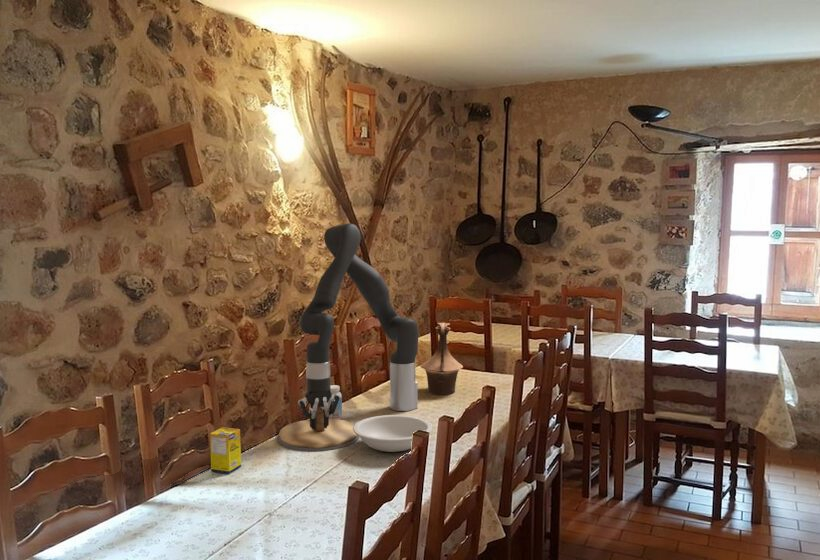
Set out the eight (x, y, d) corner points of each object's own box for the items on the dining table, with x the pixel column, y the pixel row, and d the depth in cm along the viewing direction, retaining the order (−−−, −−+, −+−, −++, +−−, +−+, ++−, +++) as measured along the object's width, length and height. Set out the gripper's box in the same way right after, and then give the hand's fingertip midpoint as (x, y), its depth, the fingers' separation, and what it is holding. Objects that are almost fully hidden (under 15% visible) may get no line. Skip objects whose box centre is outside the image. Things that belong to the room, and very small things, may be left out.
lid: (341, 417, 227) (341, 397, 226) (371, 439, 205) (371, 417, 204) (270, 429, 215) (269, 407, 215) (293, 453, 193) (292, 429, 193)
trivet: (341, 419, 228) (341, 418, 228) (372, 442, 205) (372, 440, 205) (267, 431, 216) (267, 429, 216) (291, 456, 193) (291, 454, 193)
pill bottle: (343, 415, 232) (343, 384, 231) (340, 421, 226) (339, 389, 225) (326, 415, 233) (326, 384, 232) (322, 420, 227) (322, 388, 226)
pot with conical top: (464, 397, 255) (464, 326, 253) (420, 397, 256) (420, 326, 253) (461, 386, 273) (462, 319, 270) (420, 385, 273) (420, 319, 270)
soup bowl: (444, 441, 206) (444, 420, 205) (412, 467, 184) (412, 444, 184) (376, 430, 216) (376, 411, 216) (338, 454, 194) (337, 432, 194)
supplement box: (241, 466, 185) (240, 428, 184) (229, 474, 179) (228, 435, 178) (223, 464, 187) (222, 426, 186) (210, 471, 181) (209, 433, 180)
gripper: (335, 370, 215) (335, 421, 217) (293, 375, 208) (294, 428, 210) (343, 375, 208) (344, 428, 210) (300, 380, 202) (301, 435, 203)
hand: (319, 428), depth 210 cm, fingers closed on lid, 3 cm apart
